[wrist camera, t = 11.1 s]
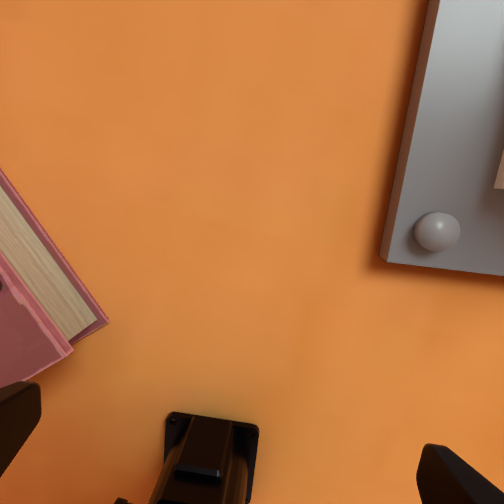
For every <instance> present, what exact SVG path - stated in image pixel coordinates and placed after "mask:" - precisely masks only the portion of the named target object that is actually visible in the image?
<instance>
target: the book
mask: <svg viewBox="0 0 504 504" xmlns="http://www.w3.org/2000/svg"><path fill="white" fill-rule="evenodd" d="M108 322H110V320H109V319H108V317H107V316H106V315H105V313H104V312H103V310H102V309H101V308H100V306H99V305H98V303H97V302H96V301H95V299H94V298H93V296H92V295H91V294H90V292H89V291H88V289H87V288H86V287H85V285H84V284H83V283H82V281H81V280H80V278H79V277H78V276H77V274H76V273H75V271H74V270H73V269H72V267H71V266H70V264H69V263H68V262H67V260H66V259H65V257H64V256H63V255H62V253H61V252H60V250H59V249H58V248H57V246H56V245H55V244H54V242H53V241H52V239H51V238H50V237H49V235H48V234H47V232H46V231H45V230H44V228H43V227H42V225H41V224H40V223H39V221H38V220H37V218H36V217H35V216H34V214H33V213H32V212H31V210H30V209H29V207H28V206H27V205H26V203H25V202H24V200H23V199H22V198H21V196H20V195H19V193H18V192H17V191H16V189H15V188H14V186H13V185H12V184H11V182H10V181H9V180H8V178H7V177H6V175H5V174H4V173H3V171H2V170H1V168H0V388H2V387H4V386H7V385H10V384H13V383H15V382H18V381H26V380H28V379H30V378H31V377H33V376H35V375H36V374H38V373H40V372H42V371H43V370H45V369H47V368H48V367H50V366H52V365H53V364H55V363H57V362H58V361H60V360H62V359H63V358H65V357H67V356H68V355H69V354H70V353H72V352H73V351H74V349H73V348H72V346H71V345H72V344H73V343H75V342H77V341H78V340H80V339H82V338H83V337H85V336H87V335H88V334H90V333H92V332H93V331H95V330H97V329H98V328H100V327H102V326H104V325H105V324H107V323H108Z"/></svg>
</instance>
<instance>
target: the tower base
mask: <svg viewBox="0 0 504 504" xmlns="http://www.w3.org/2000/svg"><path fill="white" fill-rule="evenodd" d="M379 256H380V257H381V258H382V259H384V260H385V261H386V262H391V263H400V264H408V265H416V266H425V267H433V268H441V269H450V270H458V271H466V272H475V273H483V274H491V275H500V276H504V0H429V4H428V9H427V14H426V20H425V25H424V30H423V35H422V40H421V45H420V50H419V55H418V60H417V65H416V70H415V75H414V80H413V85H412V91H411V96H410V101H409V106H408V111H407V116H406V121H405V126H404V131H403V136H402V141H401V146H400V151H399V157H398V162H397V167H396V172H395V177H394V182H393V187H392V192H391V197H390V202H389V207H388V212H387V217H386V223H385V228H384V233H383V238H382V243H381V248H380V253H379Z"/></svg>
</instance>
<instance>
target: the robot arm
mask: <svg viewBox="0 0 504 504" xmlns="http://www.w3.org/2000/svg"><path fill="white" fill-rule="evenodd" d="M40 417H41V390H40V386H39V384H37V383H34V382H28V381H18V382H15V383H13V384H10V385H7V386H4V387H2V388H0V477H1V476H2V474H3V473H4V471H5V470H6V469H7V467H8V466H9V464H10V463H11V461H12V460H13V459H14V457H15V456H16V454H17V453H18V451H19V450H20V448H21V447H22V446H23V444H24V443H25V441H26V440H27V438H28V437H29V435H30V434H31V433H32V431H33V430H34V428H35V427H36V425H37V424H38V422H39V420H40ZM172 419H175V420H176V421H173V420H172ZM250 431H252V432H254V433H250ZM258 438H259V428H258V426H256V425H254V424H250V423H243V422H237V421H230V420H224V419H217V418H211V417H205V416H198V415H192V414H185V413H179V412H171V413H170V414H169V415H168V417H167V419H166V431H165V450H164V466H163V469H162V471H161V473H160V476H159V478H158V481H157V483H156V486H155V488H154V490H153V493H152V495H151V498H150V500H149V502H148V504H248V503H250V500H251V493H252V485H253V477H254V469H255V462H256V454H257V446H258ZM416 481H417V486H418V490H419V494H420V497H421V501H422V504H504V493H503V492H502V491H501V490H499V489H498V488H497V487H496V486H494V485H493V484H492V483H491V482H490V481H488V480H487V479H486V478H485V477H483V476H482V475H481V474H480V473H479V472H477V471H476V470H475V469H474V468H472V467H471V466H470V465H469V464H467V463H466V462H465V461H464V460H463V459H461V458H460V457H459V456H458V455H456V454H455V453H454V452H453V451H451V450H450V449H449V448H448V447H446V446H443V445H437V444H430V443H428V444H426V445H425V446H424V447H423V450H422V454H421V458H420V462H419V465H418V469H417V474H416ZM114 504H132V503H128V500H126V499H122V498H119V497H118V498H117V500H116V501H115V503H114Z"/></svg>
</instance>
